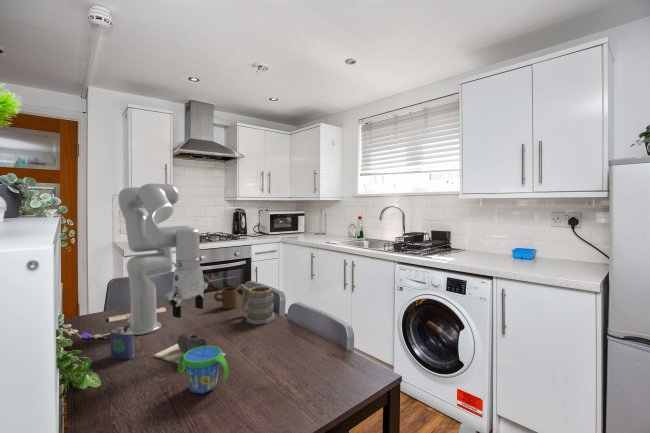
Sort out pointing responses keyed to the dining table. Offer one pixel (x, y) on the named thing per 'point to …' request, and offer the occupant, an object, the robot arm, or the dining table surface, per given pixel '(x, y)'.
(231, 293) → the mug
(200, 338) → the perforated stone tool
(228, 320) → the dining table surface
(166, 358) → the birch board
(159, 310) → the newspaper
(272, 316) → the tankard
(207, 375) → the snack cup
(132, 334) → the flask
